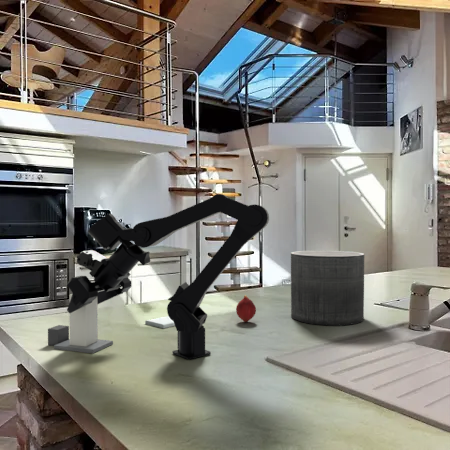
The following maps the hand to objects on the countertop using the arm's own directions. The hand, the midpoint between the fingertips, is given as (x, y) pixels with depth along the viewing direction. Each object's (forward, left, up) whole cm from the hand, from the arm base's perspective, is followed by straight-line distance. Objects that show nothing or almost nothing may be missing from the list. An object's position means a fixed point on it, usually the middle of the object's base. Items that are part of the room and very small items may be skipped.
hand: (81, 307), depth 110 cm
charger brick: (-1, 0, -8) cm, 9 cm away
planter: (-20, -70, -10) cm, 74 cm away
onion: (-8, -47, -9) cm, 49 cm away
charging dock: (+1, 0, -9) cm, 9 cm away
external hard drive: (+7, -30, -10) cm, 33 cm away
